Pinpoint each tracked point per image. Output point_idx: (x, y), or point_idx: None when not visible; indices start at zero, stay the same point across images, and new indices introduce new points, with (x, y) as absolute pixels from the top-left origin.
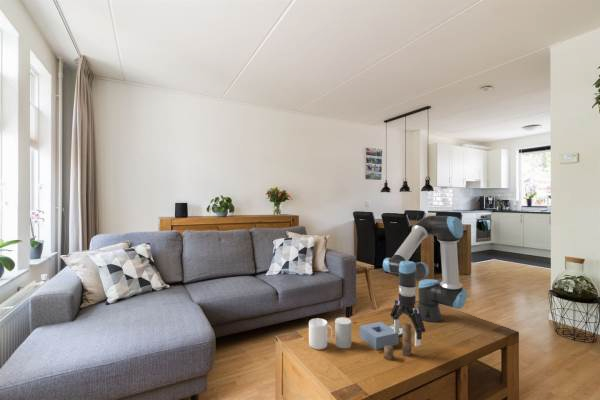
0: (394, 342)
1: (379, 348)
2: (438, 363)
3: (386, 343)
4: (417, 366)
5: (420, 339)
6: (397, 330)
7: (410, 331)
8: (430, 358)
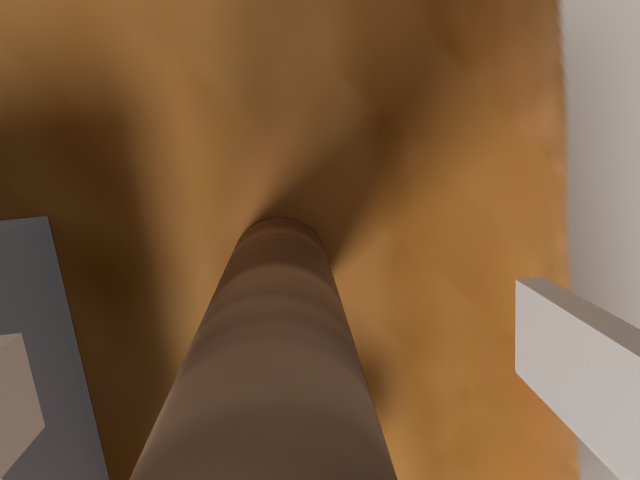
0: (44, 288)
1: (104, 473)
2: (541, 47)
3: (66, 410)
4: (494, 301)
5: (615, 317)
6: (3, 401)
7: (379, 425)
8: (433, 59)
